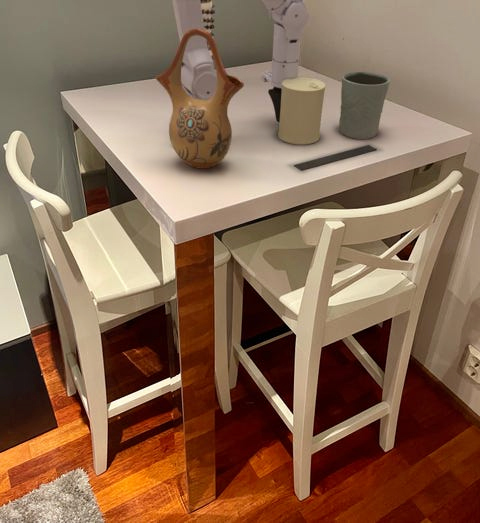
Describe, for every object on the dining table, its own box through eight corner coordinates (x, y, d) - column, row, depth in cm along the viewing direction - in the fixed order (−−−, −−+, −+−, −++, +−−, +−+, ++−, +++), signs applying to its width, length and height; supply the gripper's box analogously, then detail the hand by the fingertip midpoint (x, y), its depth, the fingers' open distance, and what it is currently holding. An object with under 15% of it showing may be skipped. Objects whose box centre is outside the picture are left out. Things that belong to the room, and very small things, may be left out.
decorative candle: (221, 80, 146) (222, -20, 131) (202, 89, 140) (200, -15, 125) (195, 74, 150) (192, -23, 135) (175, 82, 144) (170, -19, 129)
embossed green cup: (346, 141, 112) (354, 86, 105) (327, 125, 120) (334, 72, 113) (388, 137, 115) (399, 83, 108) (367, 121, 123) (376, 69, 116)
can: (304, 148, 109) (310, 91, 102) (269, 136, 114) (272, 81, 107) (327, 135, 115) (334, 81, 108) (293, 125, 120) (297, 72, 113)
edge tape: (301, 170, 101) (301, 169, 100) (293, 165, 102) (293, 164, 102) (376, 149, 109) (376, 149, 109) (368, 145, 111) (368, 144, 111)
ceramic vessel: (247, 160, 104) (251, 26, 89) (235, 180, 97) (238, 37, 82) (169, 150, 107) (161, 19, 92) (153, 168, 100) (141, 29, 85)
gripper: (322, 65, 107) (315, 128, 115) (280, 49, 117) (277, 108, 125) (294, 69, 104) (289, 134, 112) (254, 53, 114) (252, 113, 122)
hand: (281, 121), depth 118 cm, fingers closed
